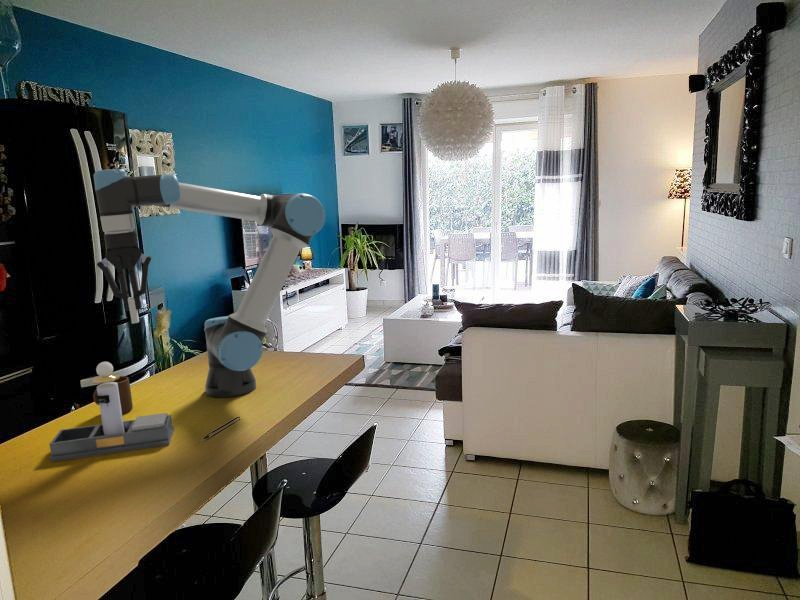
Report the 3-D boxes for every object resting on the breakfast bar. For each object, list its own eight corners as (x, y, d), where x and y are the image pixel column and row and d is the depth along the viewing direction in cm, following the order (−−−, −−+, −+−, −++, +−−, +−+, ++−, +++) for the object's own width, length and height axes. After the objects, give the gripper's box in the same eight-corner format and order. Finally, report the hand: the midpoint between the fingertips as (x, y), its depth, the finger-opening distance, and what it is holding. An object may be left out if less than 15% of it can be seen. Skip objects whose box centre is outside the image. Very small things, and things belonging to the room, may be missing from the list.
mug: (110, 423, 157) (105, 390, 155) (86, 422, 159) (81, 389, 157) (138, 407, 169) (134, 376, 167) (116, 406, 170) (111, 375, 169)
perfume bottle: (114, 434, 146) (103, 357, 143) (133, 436, 145) (122, 358, 141) (96, 443, 141) (84, 364, 137) (115, 445, 139) (103, 366, 136)
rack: (173, 429, 151) (171, 410, 150) (169, 444, 142) (166, 424, 141) (63, 444, 145) (60, 425, 144) (50, 462, 135) (47, 441, 134)
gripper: (148, 228, 152) (163, 315, 157) (94, 233, 148) (110, 322, 153) (146, 230, 145) (161, 321, 150) (88, 235, 141) (106, 329, 146)
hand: (135, 322), depth 152 cm, fingers closed
